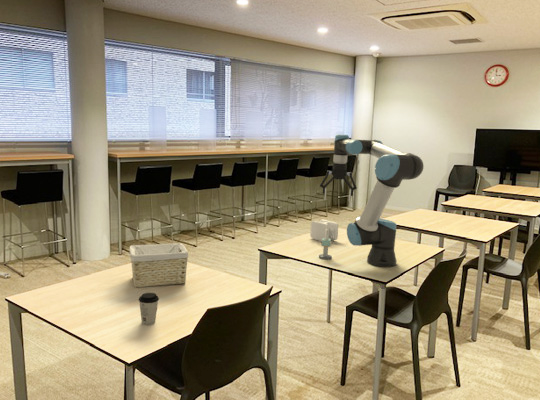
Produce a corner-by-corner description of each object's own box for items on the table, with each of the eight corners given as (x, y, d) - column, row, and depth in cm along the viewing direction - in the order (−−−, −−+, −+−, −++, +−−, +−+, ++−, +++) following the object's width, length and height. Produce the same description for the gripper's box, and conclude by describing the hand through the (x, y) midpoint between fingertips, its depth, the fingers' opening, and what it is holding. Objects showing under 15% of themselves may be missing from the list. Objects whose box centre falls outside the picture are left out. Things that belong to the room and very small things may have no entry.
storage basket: (131, 289, 200) (131, 254, 197) (128, 276, 215) (128, 244, 212) (188, 285, 208) (189, 252, 206) (182, 273, 223) (183, 242, 221)
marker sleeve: (330, 244, 260) (330, 238, 259) (330, 246, 255) (330, 240, 255) (322, 243, 260) (322, 238, 260) (321, 245, 256) (322, 240, 255)
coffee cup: (142, 328, 165) (142, 300, 163) (135, 320, 170) (135, 293, 169) (161, 323, 169) (162, 296, 167) (154, 316, 175) (154, 290, 173)
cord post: (331, 256, 262) (333, 228, 259) (331, 260, 255) (333, 231, 252) (319, 255, 263) (321, 227, 260) (318, 259, 256) (320, 230, 253)
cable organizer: (308, 238, 299) (309, 219, 297) (320, 236, 306) (321, 218, 304) (326, 243, 288) (327, 224, 286) (338, 241, 295) (339, 223, 293)
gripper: (362, 163, 268) (359, 201, 272) (317, 160, 272) (315, 197, 275) (363, 164, 261) (360, 203, 265) (317, 161, 264) (314, 199, 268)
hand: (337, 200), depth 270 cm, fingers open, 13 cm apart
